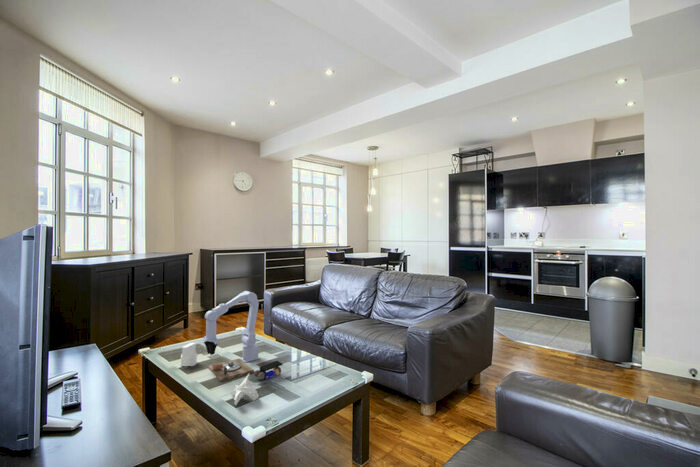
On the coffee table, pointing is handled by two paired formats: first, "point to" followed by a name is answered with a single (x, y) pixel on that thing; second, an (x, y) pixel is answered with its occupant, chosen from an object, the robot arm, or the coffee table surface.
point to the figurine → (244, 391)
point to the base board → (226, 375)
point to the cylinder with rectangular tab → (189, 355)
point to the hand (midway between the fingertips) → (211, 353)
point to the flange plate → (230, 366)
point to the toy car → (264, 368)
